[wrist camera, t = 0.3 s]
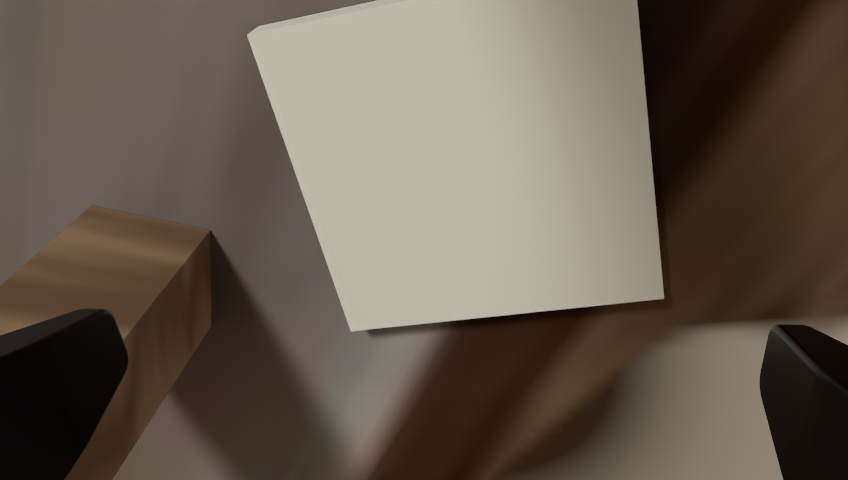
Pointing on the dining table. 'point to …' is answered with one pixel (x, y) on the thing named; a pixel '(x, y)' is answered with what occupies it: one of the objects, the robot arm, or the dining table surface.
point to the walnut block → (122, 311)
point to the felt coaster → (470, 154)
